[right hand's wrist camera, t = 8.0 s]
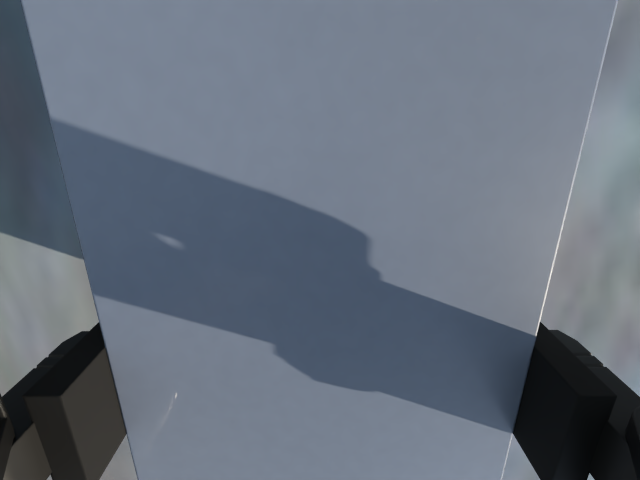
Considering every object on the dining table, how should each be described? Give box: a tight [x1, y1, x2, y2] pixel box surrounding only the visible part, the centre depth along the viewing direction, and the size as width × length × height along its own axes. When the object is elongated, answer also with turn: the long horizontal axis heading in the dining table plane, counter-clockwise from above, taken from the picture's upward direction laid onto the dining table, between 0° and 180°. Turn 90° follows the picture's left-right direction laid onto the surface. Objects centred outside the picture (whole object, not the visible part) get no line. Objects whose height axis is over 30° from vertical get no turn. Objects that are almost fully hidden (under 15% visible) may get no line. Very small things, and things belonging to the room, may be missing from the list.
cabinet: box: [20, 0, 618, 480], centre depth 12 cm, size 20×10×10 cm, turn 0°
